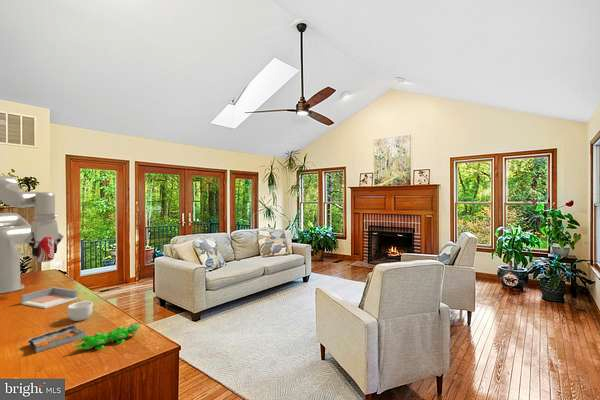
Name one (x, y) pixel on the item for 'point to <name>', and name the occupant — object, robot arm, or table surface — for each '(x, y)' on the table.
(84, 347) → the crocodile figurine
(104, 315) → the table surface
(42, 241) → the soda can
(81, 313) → the teacup
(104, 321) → the table surface
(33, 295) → the open box
